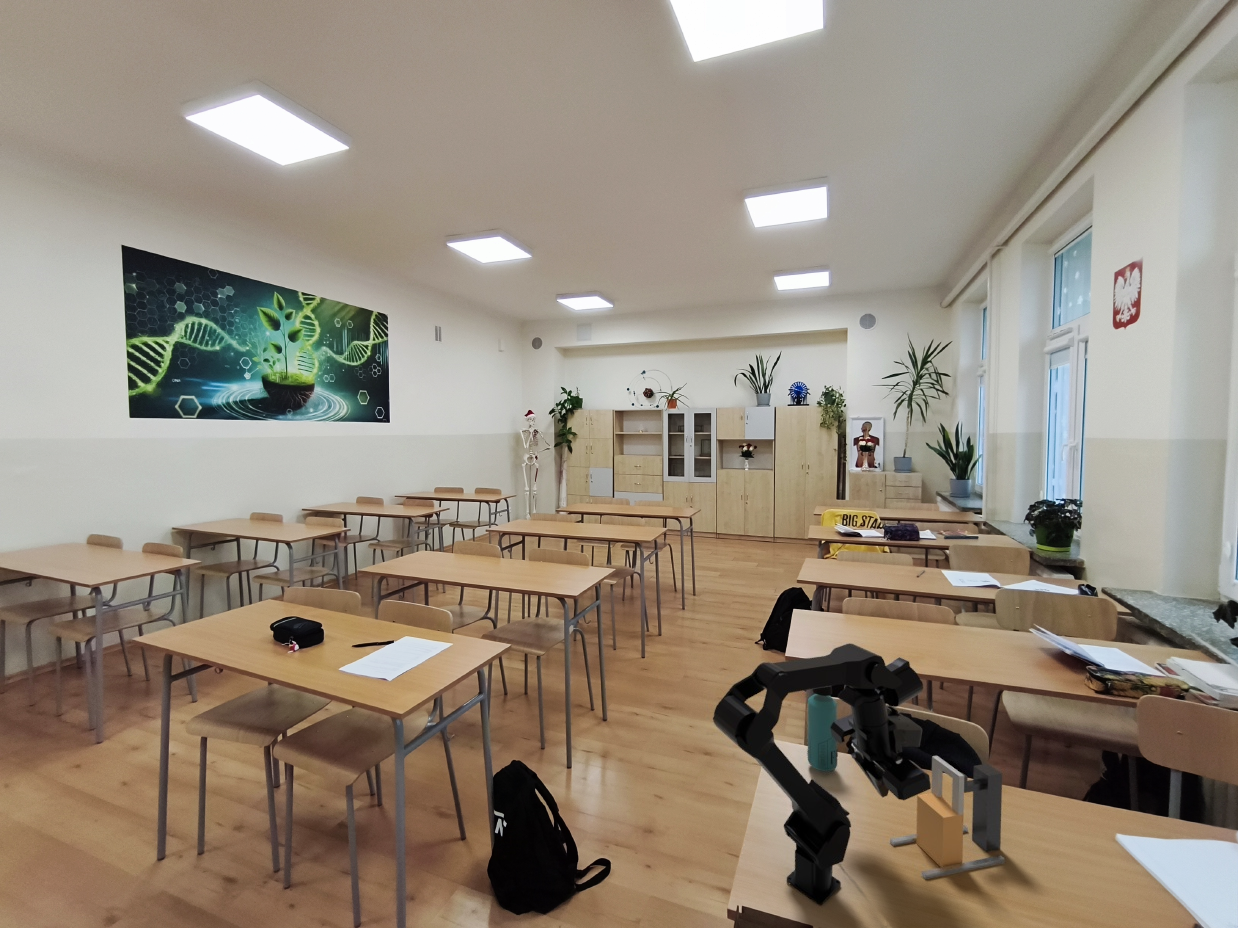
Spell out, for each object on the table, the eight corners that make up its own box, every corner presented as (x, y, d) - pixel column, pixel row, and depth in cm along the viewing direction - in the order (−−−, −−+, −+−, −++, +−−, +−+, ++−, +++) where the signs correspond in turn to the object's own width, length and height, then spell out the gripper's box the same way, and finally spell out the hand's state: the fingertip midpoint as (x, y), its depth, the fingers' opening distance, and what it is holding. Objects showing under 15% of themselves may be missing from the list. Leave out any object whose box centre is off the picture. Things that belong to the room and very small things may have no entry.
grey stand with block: (928, 889, 90) (930, 801, 89) (886, 845, 100) (888, 765, 99) (1018, 870, 94) (1020, 785, 93) (969, 829, 103) (971, 752, 103)
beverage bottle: (833, 782, 118) (834, 692, 117) (802, 771, 122) (803, 683, 121) (841, 767, 123) (842, 681, 122) (811, 757, 127) (812, 673, 126)
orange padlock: (942, 868, 93) (944, 778, 92) (916, 843, 99) (917, 758, 98) (962, 864, 94) (964, 775, 93) (935, 839, 99) (936, 755, 99)
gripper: (952, 730, 87) (964, 815, 89) (873, 676, 105) (885, 747, 107) (893, 755, 85) (907, 841, 87) (822, 695, 103) (836, 768, 105)
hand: (883, 794), depth 97 cm, fingers closed
